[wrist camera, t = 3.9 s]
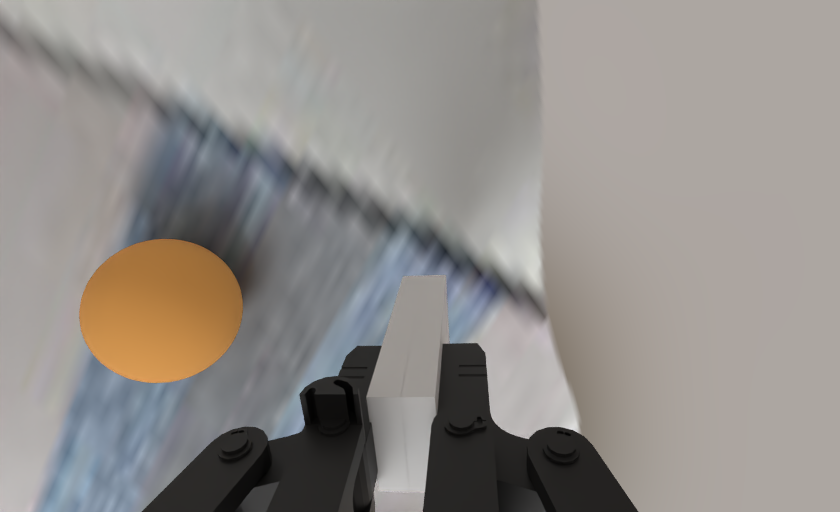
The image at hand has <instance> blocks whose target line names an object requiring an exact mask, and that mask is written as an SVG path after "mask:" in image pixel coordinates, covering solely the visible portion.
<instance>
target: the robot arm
mask: <svg viewBox="0 0 840 512" xmlns="http://www.w3.org/2000/svg"><path fill="white" fill-rule="evenodd" d="M299 395H300V400H301V405H302V410H303V415H304V420H305V426H304V429H303V431H302V432H300V433H298V434H294V435H291V436H288V437H283V438H279V439H275V440H271V441H268V438H267V436H266V434H265V433H264V431H263V430H261V429H258V428H256V427H242V428H237V429H233V430H231V431H228V432H226V433H224V434H222V435H220V436H219V437H218V438H216V439H215V440H214V441H213V442H211V443H210V444H209V445H208V446H207V447H206V448H205V449H204V450H203V451H202V452H201V453H200V454H199V455H198V456H197V457H196V458H195V459H194V460H193V461H192V462H191V463H190V464H189V465H188V466H187V467H186V468H185V469H184V470H183V471H182V472H181V473H180V474H179V475H178V476H177V477H176V478H175V479H174V480H173V481H172V482H171V483H170V484H169V485H168V486H167V487H166V488H165V489H164V490H163V491H162V492H161V493H160V494H159V495H158V496H157V497H156V498H155V499H154V500H153V501H152V502H151V503H150V504H149V505H148V506H147V507H146V508H145V509H144V510H143V511H142V512H375V501H374V494H373V492H374V487H375V483H376V478H377V481H378V489H379V492H419V493H425V497H424V507H423V512H638V511H637V509H636V508H635V506H634V505H633V503H632V502H631V500H630V499H629V498H628V496H627V495H626V493H625V492H624V490H623V489H622V487H621V486H620V484H619V483H618V481H617V480H616V479H615V477H614V476H613V474H612V473H611V471H610V470H609V468H608V467H607V465H606V464H605V463H604V461H603V460H602V458H601V457H600V455H599V454H598V452H597V451H596V449H595V448H594V447H593V445H592V444H591V443H590V442H589V441H588V440H587V439H586V438H585V437H584V436H582V435H581V434H579V433H577V432H575V431H573V430H570V429H565V428H561V427H547V428H544V429H541V430H538V431H536V432H535V433H534V434H533V435H532V436H531V437H530V438H529V439H525V438H521V437H518V436H515V435H512V434H509V433H507V432H506V431H504V430H502V429H501V428H500V427H498V426H497V425H496V424H495V422H494V421H493V419H492V418H491V414H490V406H489V394H488V381H487V368H486V356H485V352H484V351H483V350H482V349H481V347H480V346H479V345H478V344H477V343H461V344H449V325H448V306H447V287H446V275H428V276H403V278H402V281H401V284H400V288H399V291H398V294H397V298H396V301H395V304H394V307H393V311H392V314H391V317H390V321H389V324H388V327H387V331H386V334H385V337H384V340H383V344H382V346H357V347H356V348H355V349H353V350H352V351H351V352H350V353H349V354H348V355H347V356H346V358H345V360H344V363H343V365H342V369H341V370H340V372H339V375H338V376H333V377H325V378H322V379H320V380H317V381H314V382H313V383H311V384H310V385H308V386H306V387H305V388H304V389H303V391H302V392H301V393H300V394H299Z"/></svg>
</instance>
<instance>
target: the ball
mask: <svg viewBox="0 0 840 512" xmlns="http://www.w3.org/2000/svg"><path fill="white" fill-rule="evenodd" d="M242 313H243V300H242V294H241V290H240V286H239V284H238V282H237V279H236V278H235V276H234V274H233V272H232V271H231V270H230V268H229V267H228V266H227V265H226V263H225V262H224V261H223V260H222V259H220V258H219V257H218V256H217V255H215V254H214V253H212V252H211V251H209V250H208V249H206V248H204V247H202V246H199V245H197V244H194V243H191V242H187V241H183V240H176V239H155V240H149V241H144V242H140V243H137V244H134V245H132V246H129V247H127V248H124V249H122V250H121V251H119V252H118V253H116V254H114V255H113V256H111V257H110V258H109V259H107V260H106V261H105V262H104V263H103V264H102V265H101V266H100V267H99V268H98V269H97V270H96V272H95V273H94V274H93V276H92V277H91V278H90V280H89V282H88V284H87V285H86V288H85V290H84V292H83V295H82V299H81V304H80V311H79V319H80V326H81V331H82V334H83V337H84V340H85V342H86V344H87V345H88V347H89V349H90V350H91V352H92V353H93V354H94V356H95V357H96V358H97V359H98V360H99V361H100V362H101V363H102V364H103V365H105V366H106V367H107V368H109V369H110V370H112V371H113V372H115V373H117V374H119V375H121V376H123V377H126V378H129V379H132V380H136V381H142V382H148V383H163V382H172V381H177V380H181V379H185V378H188V377H191V376H193V375H195V374H197V373H199V372H201V371H203V370H205V369H206V368H208V367H209V366H211V365H212V364H213V363H215V362H216V361H217V360H218V359H219V358H220V357H221V356H222V355H223V354H224V353H225V352H226V351H227V349H228V348H229V347H230V345H231V344H232V342H233V341H234V339H235V337H236V335H237V332H238V330H239V327H240V324H241V320H242Z"/></svg>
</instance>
